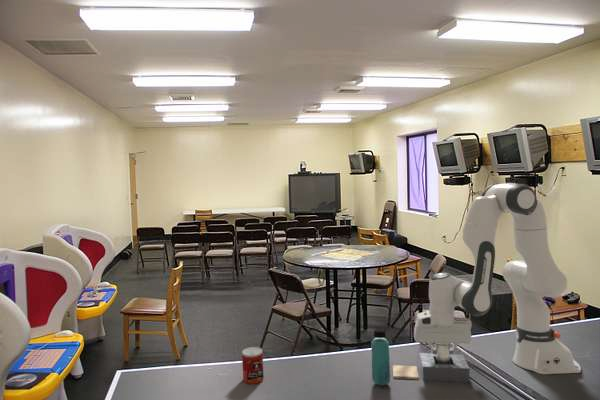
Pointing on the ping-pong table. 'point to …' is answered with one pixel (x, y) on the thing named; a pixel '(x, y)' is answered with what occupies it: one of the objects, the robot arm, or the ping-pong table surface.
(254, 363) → the canned food
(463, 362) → the block
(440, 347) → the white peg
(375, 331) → the beverage bottle
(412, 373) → the oak pad
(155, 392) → the ping-pong table surface
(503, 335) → the ping-pong table surface
